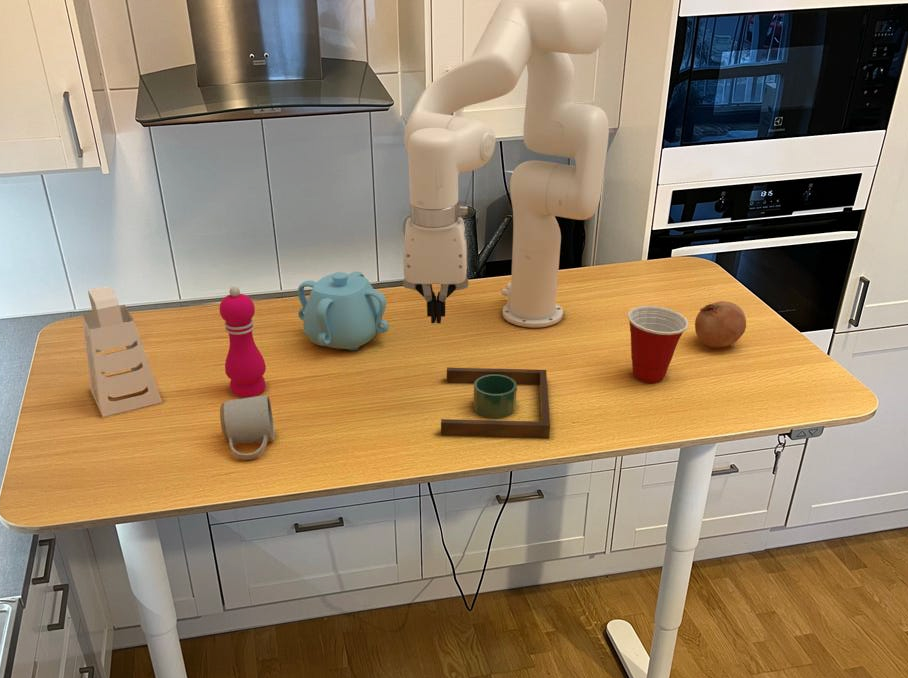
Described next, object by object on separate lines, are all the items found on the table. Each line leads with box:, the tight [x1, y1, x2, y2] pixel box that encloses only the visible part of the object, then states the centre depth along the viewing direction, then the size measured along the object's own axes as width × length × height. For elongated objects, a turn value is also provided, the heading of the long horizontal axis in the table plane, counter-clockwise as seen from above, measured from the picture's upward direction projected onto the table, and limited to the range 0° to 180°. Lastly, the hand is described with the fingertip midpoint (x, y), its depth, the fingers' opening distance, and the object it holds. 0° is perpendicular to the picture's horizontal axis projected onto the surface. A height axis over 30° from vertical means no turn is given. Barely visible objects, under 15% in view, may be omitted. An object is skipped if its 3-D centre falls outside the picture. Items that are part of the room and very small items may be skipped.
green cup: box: [473, 374, 518, 419], centre depth 162 cm, size 7×7×5 cm
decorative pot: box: [297, 271, 390, 351], centre depth 182 cm, size 16×16×14 cm
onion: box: [694, 300, 747, 349], centre depth 180 cm, size 10×9×10 cm
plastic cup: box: [627, 305, 689, 384], centre depth 168 cm, size 11×11×12 cm
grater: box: [81, 285, 163, 418], centre depth 162 cm, size 10×10×20 cm
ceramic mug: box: [219, 394, 275, 461], centre depth 152 cm, size 11×8×8 cm
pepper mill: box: [219, 286, 267, 398], centre depth 164 cm, size 7×7×20 cm
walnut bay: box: [440, 367, 551, 439], centre depth 163 cm, size 18×19×2 cm
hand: (436, 319), depth 155 cm, fingers closed
